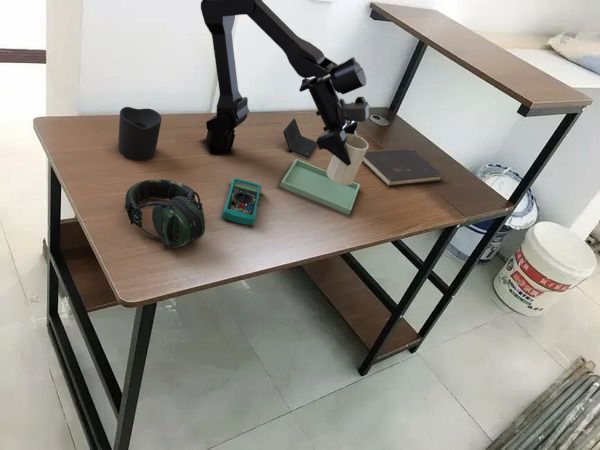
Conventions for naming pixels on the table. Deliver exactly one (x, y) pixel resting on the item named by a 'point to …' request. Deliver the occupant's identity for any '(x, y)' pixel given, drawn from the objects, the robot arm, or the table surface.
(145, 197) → the headphones
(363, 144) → the cup
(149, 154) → the pen holder
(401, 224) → the table surface
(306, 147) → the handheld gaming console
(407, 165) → the hardcover book
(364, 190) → the table surface
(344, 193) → the tray
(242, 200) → the digital multimeter
